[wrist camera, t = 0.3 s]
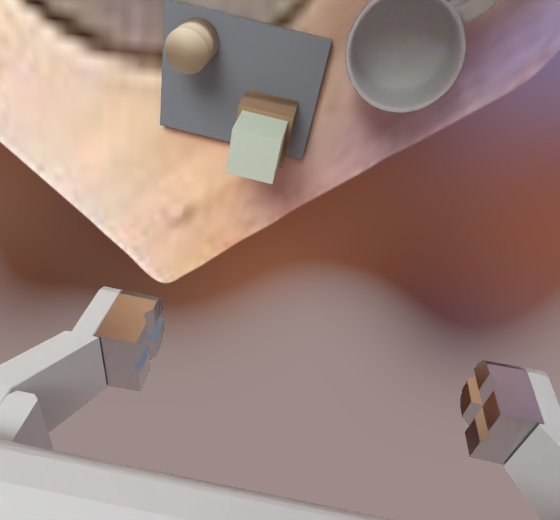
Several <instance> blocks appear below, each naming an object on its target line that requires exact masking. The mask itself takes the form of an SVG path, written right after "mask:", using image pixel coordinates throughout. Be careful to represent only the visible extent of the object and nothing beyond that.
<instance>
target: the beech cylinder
mask: <svg viewBox="0 0 560 520" xmlns="http://www.w3.org/2000/svg"><path fill="white" fill-rule="evenodd" d="M218 48H219V36H218V33H217V30H216V29H215V27H214V26H213V25H212V24H211V23H210V22H209V21H208V20H206V19H204V18H200V17H193V18H190V19H188V20H187V21H185V22H184V23H183V24H181V25H180V26H179V27H177V28H176V29H175V30H173V31H172V32H171V33H170V34H169V35H168V37H167V39H166V41H165V54H166V57H167V59H168V61H169V63H170V64H171V65H172V67H174V68H175V69H176V70H177V71H179V72H181V73H184V74H195V73H197V72H199V71H200V70H202V69H203V67H204V66H205V65H206V64H207V63H208V62H209V61H210V60H211V59H212V57H213V56H214V55H215V54H216V52H217V50H218Z"/></svg>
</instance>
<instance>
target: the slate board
mask: <svg viewBox="0 0 560 520" xmlns="http://www.w3.org/2000/svg"><path fill="white" fill-rule="evenodd" d="M193 17H200V18H204V19H206V20H208V21H209V22H210V23H211V24H212V25H213V26H214V27H215V29H216V30H217V33H218V36H219V48H218V50H217V52H216V54H215V55H214V56H213V57H212V59H211V60H210V61H209V62H208V63H207V64H206V65H205V66H204V67H203V69H202V70H200V71H199V72H197V73H195V74H184V73H181V72H179V71H177V70H176V69H175V68H174V67H172V65H171V64H170V63H169V61H168V59H167V57H166V54H165V41H166V39H167V37H168V35H169V34H170V33H171V32H172V31H173V30H175V29H176V28H177V27H179V26H180V25H181V24H183V23H184V22H185V21H187V20H188V19H190V18H193ZM331 42H332V40H331V39H327V38H323V37H319V36H315V35H312V34H308V33H304V32H300V31H296V30H292V29H288V28H284V27H280V26H276V25H272V24H268V23H264V22H260V21H256V20H252V19H248V18H244V17H240V16H236V15H232V14H228V13H224V12H220V11H216V10H212V9H208V8H204V7H200V6H196V5H192V4H188V3H184V2H180V1H176V0H165V7H164V34H163V61H162V88H161V115H160V125H162V126H166V127H170V128H174V129H179V130H183V131H187V132H191V133H195V134H199V135H203V136H207V137H211V138H215V139H219V140H223V141H227V142H231V134H232V128H233V127H234V125H235V123H236V119H237V112H238V105H239V103H240V101H241V99H242V98H243V96H244V94H245V93H246V91H247V89H250V90H254V91H258V92H262V93H266V94H270V95H274V96H278V97H282V98H286V99H290V100H294V101H298V106H297V111H296V115H295V120H294V124H293V129H292V133H291V137H290V142H289V146H288V150H287V154H286V156H288V157H292V158H296V159H300V160H302V158H303V154H304V150H305V146H306V142H307V138H308V134H309V130H310V126H311V122H312V118H313V114H314V110H315V106H316V102H317V98H318V94H319V90H320V86H321V82H322V78H323V74H324V70H325V66H326V62H327V58H328V54H329V50H330V46H331Z"/></svg>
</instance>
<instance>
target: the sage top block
mask: <svg viewBox="0 0 560 520" xmlns="http://www.w3.org/2000/svg"><path fill="white" fill-rule="evenodd" d="M287 124H288V121H284V120H280V119H276V118H272V117H268V116H264V115H260V114H256V113H252V112H248V111H244V110H242V112H241V114H240V116H239V117H238V119H237V121H236V123H235V125H234V127H233V128H232V134H231V142H230V149H229V156H228V163H227V170H226V173H229V174H233V175H237V176H241V177H245V178H249V179H253V180H257V181H261V182H265V183H269V184H273V181H274V177H275V174H276V171H277V168H278V164H279V160H280V156H281V151H282V147H283V142H284V137H285V133H286V128H287Z"/></svg>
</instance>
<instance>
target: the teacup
mask: <svg viewBox="0 0 560 520" xmlns="http://www.w3.org/2000/svg"><path fill="white" fill-rule="evenodd" d="M495 3H496V0H452V1H449V2H448V1H447V0H371V1H370V2H369V3H368V4H367V5H366V6H365V7H364V9H363V10H362V11H361V13H360V15H359V16H358V18H357V19H356V21H355V22H354V24H353V26H352V28H351V31H350V33H349V36H348V40H347V44H346V66H347V72H348V75H349V78H350V81H351V83H352V85H353V87H354V88H355V90H356V91H357V93H358V94H359V95H360V96H361V97H362V98H363V99H364V100H365V101H366V102H367V103H369V104H370V105H372V106H374V107H376V108H378V109H380V110H384V111H388V112H393V113H407V112H412V111H416V110H420V109H422V108H425V107H427V106H429V105H431V104H432V103H434V102H436V101H437V100H438V99H439V98H441V97H442V96H443V95H444V94H445V93H446V92H447V91H448V90H449V89H450V88H451V86H452V85H453V84H454V83H455V81H456V79H457V77H458V75H459V73H460V72H461V69H462V66H463V63H464V59H465V55H466V37H465V31H464V27H463V25H464V24H466V23H468V22H470V21H472V20H474V19H476V18H478V17H479V16H481V15H483V14H484V13H486V12H487V11H488V10H489V9H491V8H492V7H493V6H494V4H495Z"/></svg>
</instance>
